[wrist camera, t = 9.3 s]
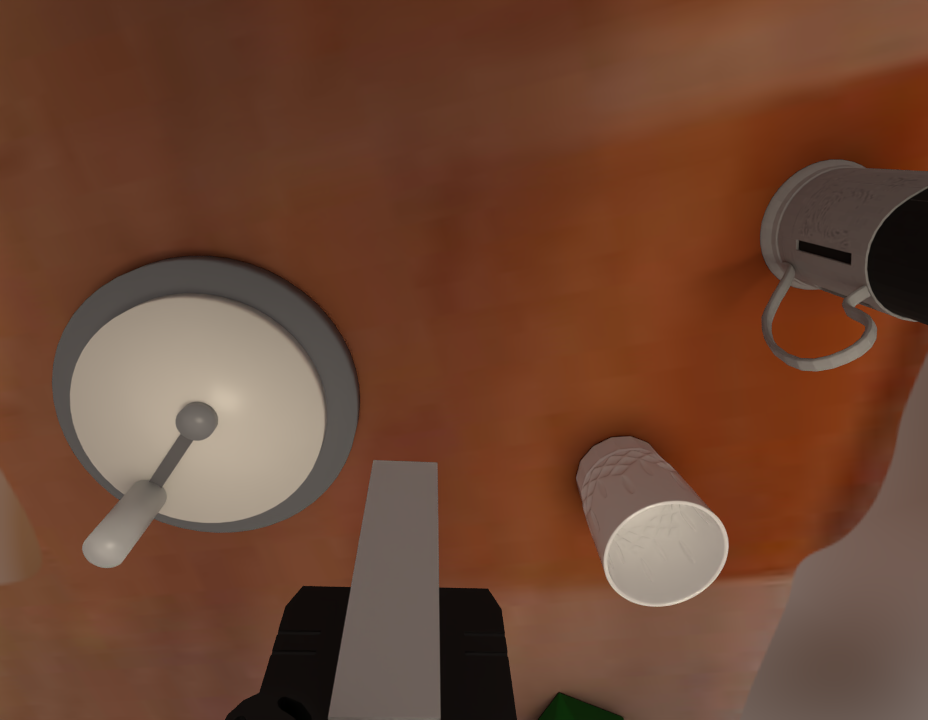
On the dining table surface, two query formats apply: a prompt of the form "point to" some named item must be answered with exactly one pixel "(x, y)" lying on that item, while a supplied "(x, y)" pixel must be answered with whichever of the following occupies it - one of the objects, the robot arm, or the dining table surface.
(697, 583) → the white cup
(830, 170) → the glass holder
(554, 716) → the milk carton
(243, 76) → the dining table surface
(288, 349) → the cream crank wheel
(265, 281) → the stand base
